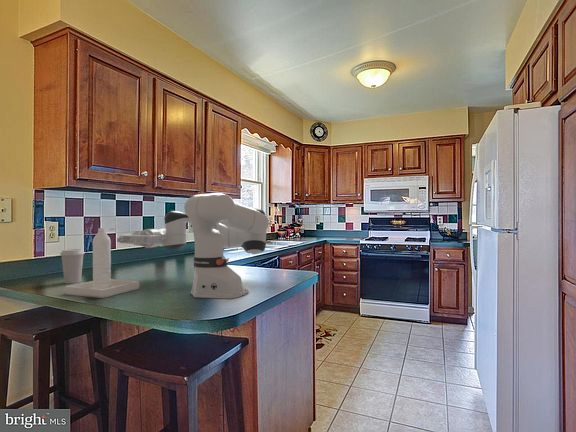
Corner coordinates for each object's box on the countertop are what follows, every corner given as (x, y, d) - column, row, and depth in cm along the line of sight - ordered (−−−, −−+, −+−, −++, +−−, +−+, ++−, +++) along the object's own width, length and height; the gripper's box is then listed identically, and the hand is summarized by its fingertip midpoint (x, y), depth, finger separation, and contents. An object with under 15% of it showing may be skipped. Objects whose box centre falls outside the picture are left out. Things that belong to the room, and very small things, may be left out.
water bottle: (97, 292, 136) (96, 228, 136) (89, 290, 140) (89, 228, 140) (119, 288, 143) (119, 227, 143) (111, 286, 147) (111, 227, 147)
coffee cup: (69, 285, 154) (68, 251, 154) (55, 283, 158) (55, 250, 158) (89, 281, 163) (89, 249, 163) (76, 279, 167) (75, 248, 167)
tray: (139, 288, 145) (139, 281, 145) (102, 298, 129) (101, 290, 129) (104, 285, 153) (104, 278, 153) (64, 294, 136) (64, 286, 136)
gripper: (167, 245, 161) (144, 248, 148) (133, 244, 169) (109, 246, 156) (167, 231, 161) (144, 233, 148) (133, 231, 169) (109, 232, 156)
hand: (126, 240), depth 152 cm, fingers open, 8 cm apart
